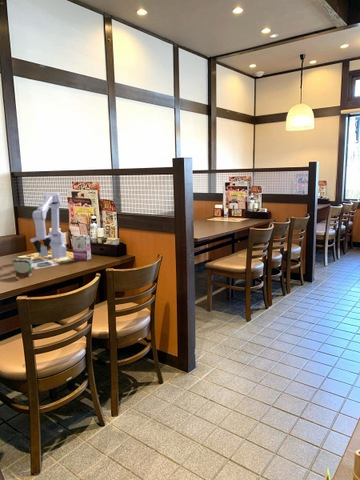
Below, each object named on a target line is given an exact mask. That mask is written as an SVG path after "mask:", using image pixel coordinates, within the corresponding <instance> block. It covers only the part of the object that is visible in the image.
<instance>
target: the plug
mask: <svg viewBox="0 0 360 480" xmlns="http://www.w3.org/2000/svg"><path fill="white" fill-rule="evenodd" d="M40 248H41V253H38V256H39V258H45V257H48V256H49V255H48V251H47V246H44V244H43V245H42V244H41V246H40Z"/></svg>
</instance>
